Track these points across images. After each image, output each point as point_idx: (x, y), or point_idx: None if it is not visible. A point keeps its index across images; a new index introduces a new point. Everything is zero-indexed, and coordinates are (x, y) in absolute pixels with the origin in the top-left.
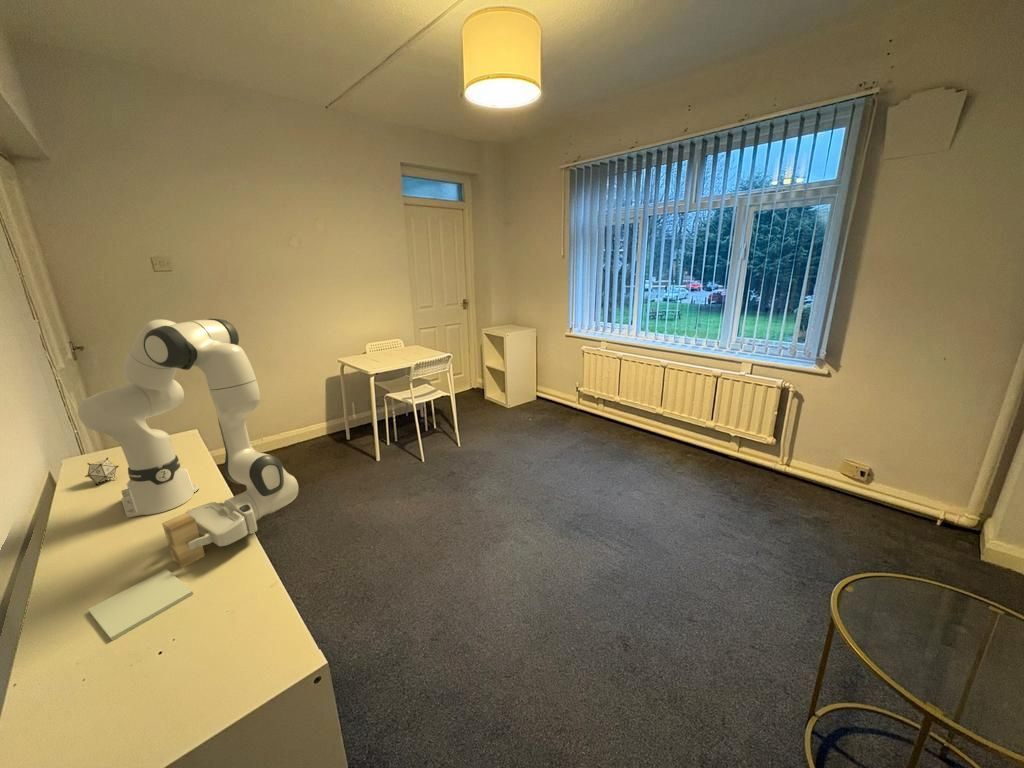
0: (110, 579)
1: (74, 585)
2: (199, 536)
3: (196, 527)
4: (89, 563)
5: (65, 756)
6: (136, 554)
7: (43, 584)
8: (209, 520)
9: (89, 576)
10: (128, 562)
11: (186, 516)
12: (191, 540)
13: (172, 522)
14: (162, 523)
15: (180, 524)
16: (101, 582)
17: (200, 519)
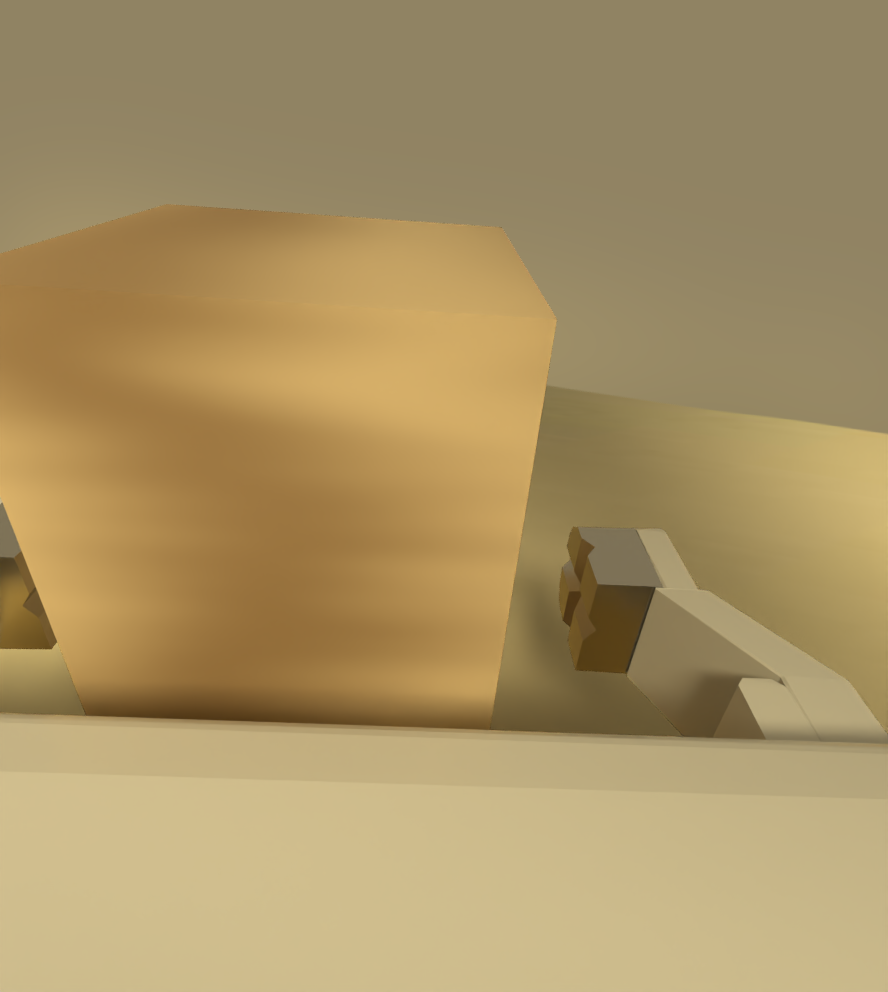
0: (582, 493)
1: (663, 442)
2: (85, 710)
3: (25, 529)
4: (865, 498)
5: None
6: (816, 615)
7: (770, 418)
8: (11, 981)
9: (704, 473)
10: (721, 567)
11: (314, 282)
12: (4, 524)
13: (363, 234)
14: (486, 227)
15: (122, 226)
16: (589, 476)
17: (449, 821)
